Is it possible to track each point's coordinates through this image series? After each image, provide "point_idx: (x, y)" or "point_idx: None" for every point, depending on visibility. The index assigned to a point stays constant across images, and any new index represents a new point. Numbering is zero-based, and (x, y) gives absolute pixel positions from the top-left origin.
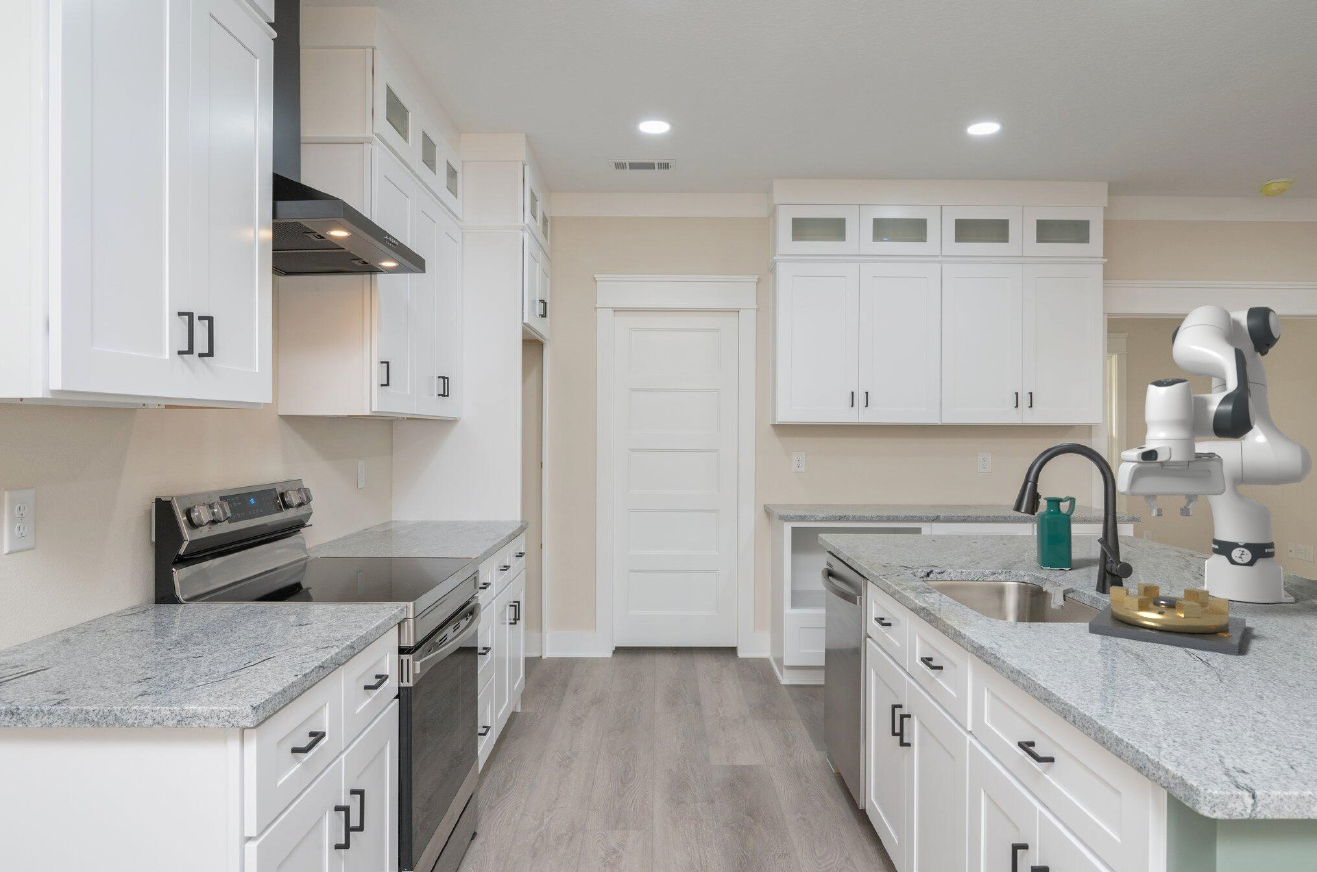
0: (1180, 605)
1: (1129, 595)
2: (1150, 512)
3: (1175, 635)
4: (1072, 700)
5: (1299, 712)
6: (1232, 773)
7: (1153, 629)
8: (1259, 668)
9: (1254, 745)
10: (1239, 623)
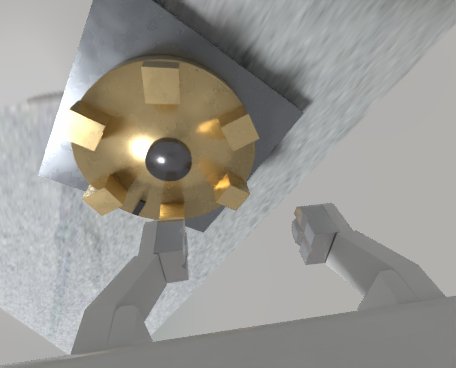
0: None
1: (91, 196)
2: (143, 230)
3: None
4: (30, 324)
5: (172, 309)
6: None
7: None
8: (199, 250)
9: None
10: (271, 143)
